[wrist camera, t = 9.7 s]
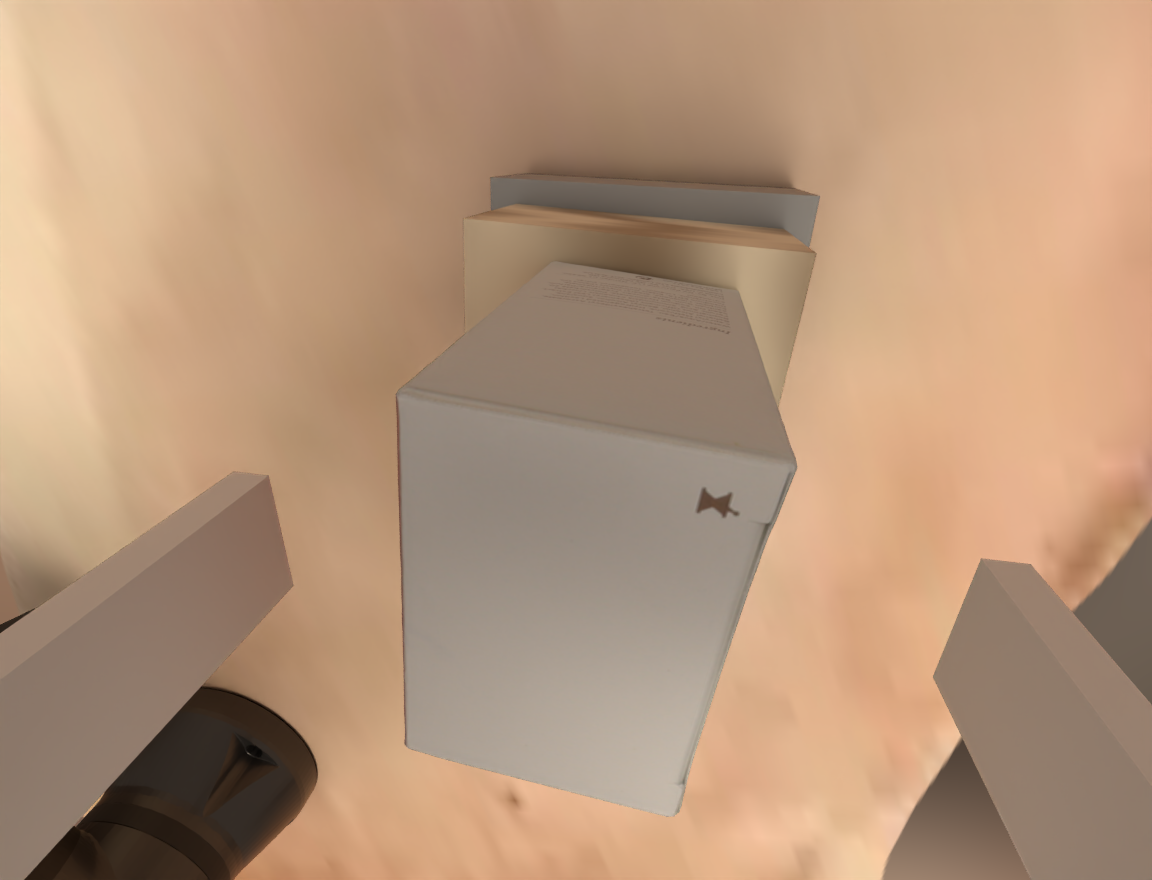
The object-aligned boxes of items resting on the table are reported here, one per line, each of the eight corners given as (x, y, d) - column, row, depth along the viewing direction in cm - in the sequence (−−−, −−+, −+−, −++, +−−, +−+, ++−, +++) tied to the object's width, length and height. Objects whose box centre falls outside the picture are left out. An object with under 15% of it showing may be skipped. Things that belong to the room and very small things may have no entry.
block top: (510, 436, 27) (466, 506, 22) (516, 203, 22) (463, 218, 17) (731, 468, 26) (742, 550, 20) (784, 229, 21) (816, 253, 16)
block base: (526, 408, 33) (495, 457, 27) (528, 173, 28) (490, 177, 22) (746, 432, 31) (758, 489, 26) (793, 188, 26) (819, 196, 21)
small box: (552, 256, 17) (384, 374, 8) (744, 287, 17) (810, 455, 7) (528, 487, 21) (394, 756, 11) (685, 520, 20) (678, 831, 11)
